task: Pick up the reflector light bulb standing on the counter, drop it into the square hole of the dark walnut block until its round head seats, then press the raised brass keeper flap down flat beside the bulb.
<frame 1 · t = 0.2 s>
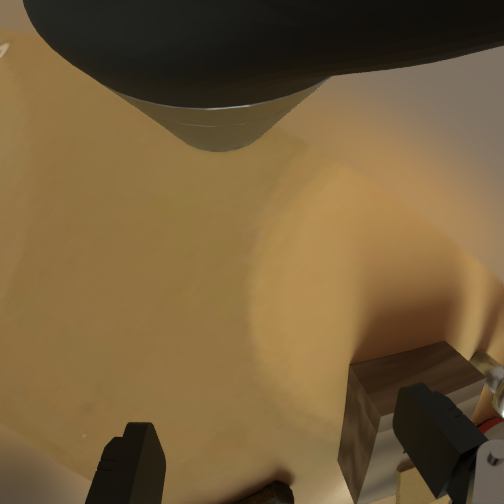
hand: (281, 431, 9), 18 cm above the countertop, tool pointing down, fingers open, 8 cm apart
citrus juicer: (478, 437, 38), on the countertop, touching plant pot
keeper flap: (418, 485, 23), point 10 cm above the countertop, hinge at 30.0°
reflector light bulb: (476, 361, 32), on the countertop
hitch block: (390, 408, 32), on the countertop
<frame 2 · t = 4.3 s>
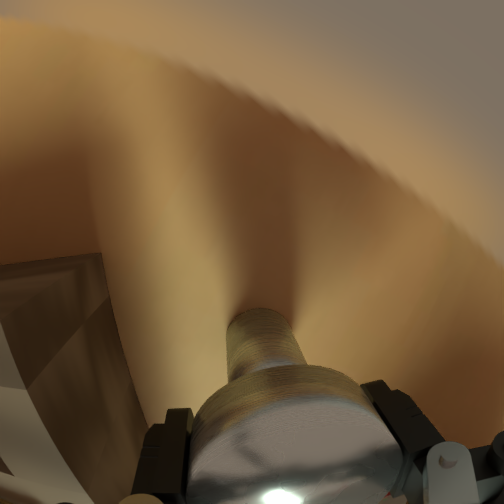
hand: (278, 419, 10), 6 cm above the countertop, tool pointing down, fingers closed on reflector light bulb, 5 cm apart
citrus juicer: (373, 503, 20), on the countertop, touching plant pot
reflector light bulb: (259, 338, 15), on the countertop, touching gripper
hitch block: (49, 391, 15), on the countertop
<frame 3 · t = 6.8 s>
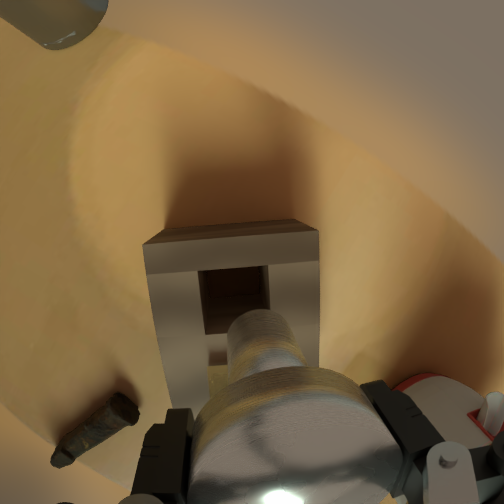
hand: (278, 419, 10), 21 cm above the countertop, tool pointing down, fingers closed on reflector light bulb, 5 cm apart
citrus juicer: (411, 401, 36), on the countertop, touching plant pot
keeper flap: (245, 402, 22), point 10 cm above the countertop, hinge at 30.0°
reflector light bulb: (259, 339, 15), point 15 cm above the countertop, touching gripper
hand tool: (93, 429, 33), on the countertop
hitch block: (235, 307, 31), on the countertop
when the fingers open (9 cm above the countertop, at t = 9.4 s): reflector light bulb drops 2 cm, resting on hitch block.
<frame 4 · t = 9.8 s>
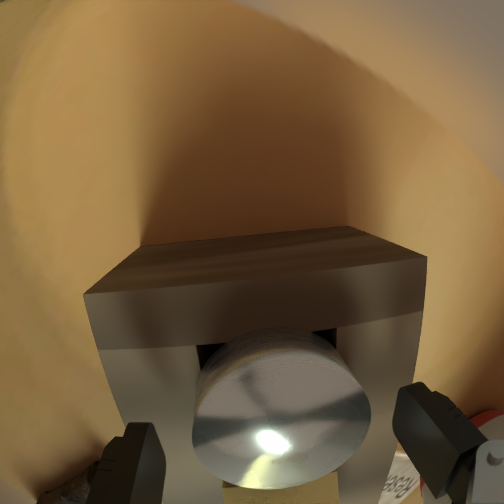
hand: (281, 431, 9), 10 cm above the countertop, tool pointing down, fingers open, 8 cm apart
citrus juicer: (464, 441, 25), on the countertop, touching plant pot
reflector light bulb: (255, 318, 18), point 1 cm above the countertop, touching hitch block
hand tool: (74, 490, 22), on the countertop
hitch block: (257, 361, 20), on the countertop
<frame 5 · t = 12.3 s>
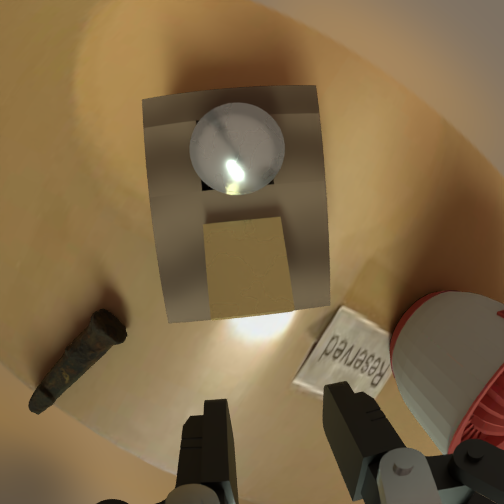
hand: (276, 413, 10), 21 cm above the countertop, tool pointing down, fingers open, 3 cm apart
citrus juicer: (429, 327, 34), on the countertop, touching plant pot
keeper flap: (247, 267, 20), point 10 cm above the countertop, hinge at 30.0°
reflector light bulb: (232, 159, 27), point 1 cm above the countertop, touching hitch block
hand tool: (76, 364, 32), on the countertop
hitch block: (235, 198, 29), on the countertop
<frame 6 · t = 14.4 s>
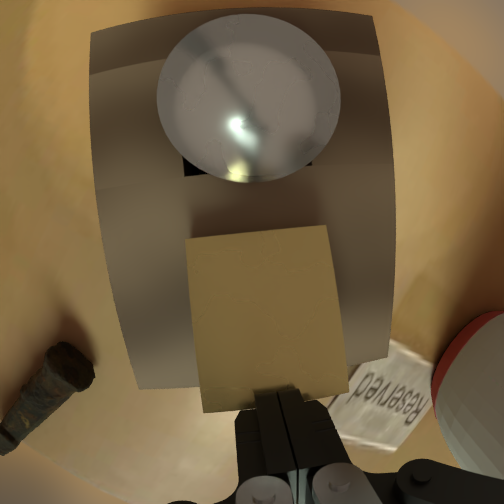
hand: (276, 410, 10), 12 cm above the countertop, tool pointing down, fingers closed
citrus juicer: (475, 353, 25), on the countertop, touching plant pot
keeper flap: (266, 318, 11), point 10 cm above the countertop, hinge at 26.9°, touching gripper
reflector light bulb: (236, 132, 18), point 1 cm above the countertop, touching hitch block
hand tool: (41, 402, 23), on the countertop
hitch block: (240, 190, 20), on the countertop
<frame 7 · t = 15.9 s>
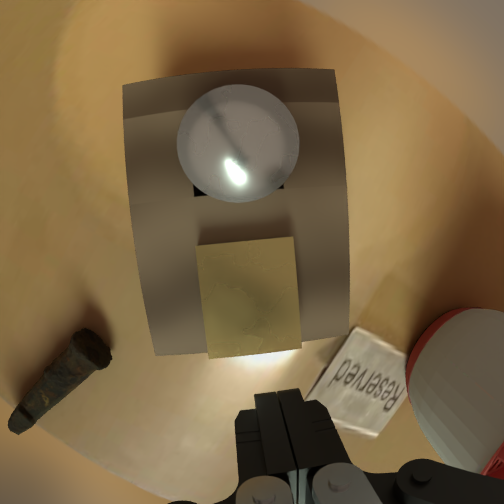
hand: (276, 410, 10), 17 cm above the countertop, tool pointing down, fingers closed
citrus juicer: (447, 347, 30), on the countertop, touching plant pot
keeper flap: (249, 298, 17), point 9 cm above the countertop, hinge at 9.6°
reflector light bulb: (232, 159, 23), point 1 cm above the countertop, touching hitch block
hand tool: (58, 384, 27), on the countertop
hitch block: (235, 204, 25), on the countertop
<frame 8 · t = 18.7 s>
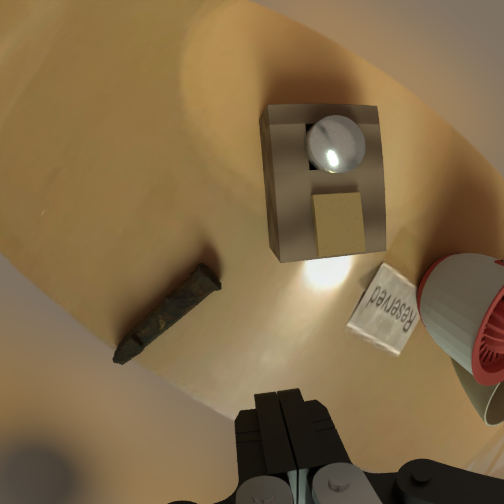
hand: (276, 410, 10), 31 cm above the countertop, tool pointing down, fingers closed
citrus juicer: (444, 284, 45), on the countertop, touching plant pot
keeper flap: (338, 223, 31), point 9 cm above the countertop, hinge at 9.1°
reflector light bulb: (312, 152, 38), point 1 cm above the countertop, touching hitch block
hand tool: (164, 316, 42), on the countertop
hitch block: (312, 180, 39), on the countertop
plant pot: (463, 345, 48), on the countertop, touching citrus juicer
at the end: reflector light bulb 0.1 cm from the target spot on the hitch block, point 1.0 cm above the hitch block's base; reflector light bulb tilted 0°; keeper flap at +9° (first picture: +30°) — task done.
